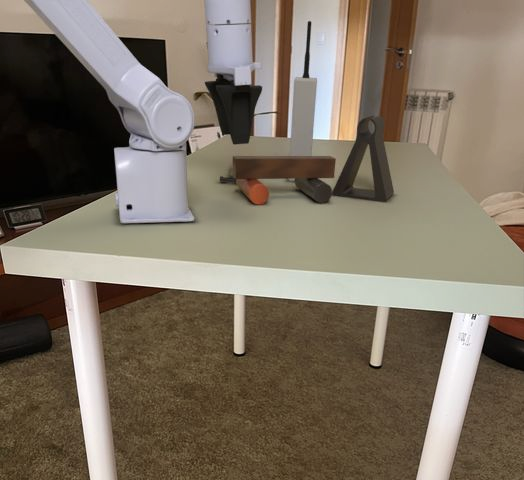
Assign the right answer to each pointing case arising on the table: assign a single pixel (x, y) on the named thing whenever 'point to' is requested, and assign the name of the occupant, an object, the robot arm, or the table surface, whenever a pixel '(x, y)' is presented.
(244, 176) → the bar
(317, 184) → the rods
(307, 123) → the vintage mobile phone
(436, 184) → the table surface
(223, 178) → the tomahawk
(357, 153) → the dark grey triangle stand
